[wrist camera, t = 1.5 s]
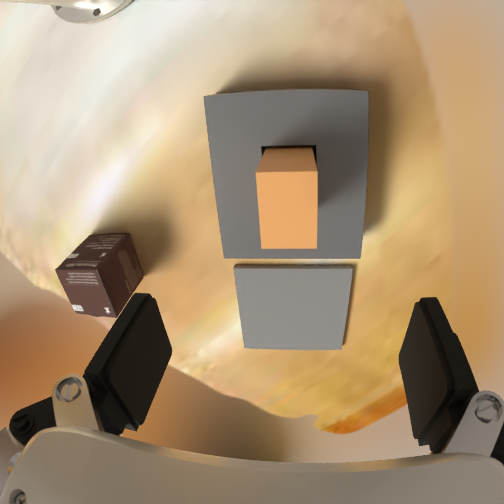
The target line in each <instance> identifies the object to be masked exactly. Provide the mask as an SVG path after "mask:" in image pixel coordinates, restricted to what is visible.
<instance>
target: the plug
mask: <svg viewBox="0 0 504 504" xmlns="http://www.w3.org/2000/svg"><path fill="white" fill-rule="evenodd" d="M256 183H257V196H258V209H259V223H260V236H261V249H317V208H318V171H317V167H316V163H315V158H314V154H313V150H312V145H283V146H267V147H266V149H265V152H264V154H263V156H262V159H261V161H260V163H259V166H258V168H257V171H256Z"/></svg>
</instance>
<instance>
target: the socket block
mask: <svg viewBox="0 0 504 504" xmlns="http://www.w3.org/2000/svg"><path fill="white" fill-rule="evenodd" d="M204 105H205V114H206V123H207V132H208V140H209V149H210V157H211V165H212V173H213V181H214V188H215V196H216V204H217V211H218V219H219V226H220V233H221V240H222V247H223V254H224V258H237V259H360V258H361V249H362V239H363V229H364V217H365V204H366V189H367V170H368V137H369V100H368V91H363V90H352V89H274V90H256V91H242V92H231V93H221V94H213V95H208V96H204ZM283 145H312V150H313V154H314V158H315V163H316V167H317V171H318V208H317V249H261V236H260V223H259V209H258V196H257V183H256V171H257V168H258V166H259V163H260V161H261V159H262V156H263V154H264V152H265V149H266V147H267V146H283Z"/></svg>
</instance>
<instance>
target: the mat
mask: <svg viewBox="0 0 504 504" xmlns="http://www.w3.org/2000/svg"><path fill="white" fill-rule="evenodd" d="M352 272H353V267H352V265H234V275H235V283H236V290H237V298H238V305H239V312H240V320H241V327H242V334H243V341H244V348H251V349H280V350H341V349H342V343H343V337H344V331H345V324H346V318H347V311H348V304H349V296H350V288H351V280H352Z"/></svg>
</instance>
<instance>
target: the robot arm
mask: <svg viewBox="0 0 504 504" xmlns="http://www.w3.org/2000/svg"><path fill="white" fill-rule="evenodd" d="M131 1H133V0H0V2H21V3H35V4H46V5H51V7H52V9H53V10H54V12H55V14H56V15H57V16H59V17H60V18H61V19H63V20H65V21H67V22H71V23H79V24H88V23H94V22H98V21H101V20H104V19H106V18H108V17H110V16H112V15H114V14H116V13H117V12H119V11H120V10H122V9H123V8H124V7H126V6H127V5H128V4H129V3H130V2H131ZM171 355H172V347H171V344H170V341H169V338H168V335H167V333H166V330H165V327H164V324H163V321H162V318H161V315H160V311H159V308H158V305H157V302H156V299H155V298H152V296H151V295H150V294H147V293H135V294H134V295H133V296H132V297H131V299H130V300H129V302H128V303H127V305H126V306H125V308H124V309H123V311H122V312H121V314H120V315H119V317H118V318H117V320H116V322H115V323H114V325H113V326H112V328H111V329H110V331H109V333H108V334H107V336H106V337H105V339H104V340H103V342H102V343H101V345H100V347H99V348H98V350H97V351H96V353H95V355H94V356H93V358H92V360H91V361H90V363H89V365H88V366H87V368H86V370H85V371H84V372H85V373H84V375H83V377H82V376H80V375H77V374H69V375H66V376H64V377H62V378H60V379H59V380H58V381H57V382H56V383H55V385H54V387H53V389H52V396H51V397H49V398H47V399H44V400H42V401H40V402H37V403H35V404H32V405H30V406H28V407H25V408H23V409H21V410H19V411H17V412H16V413H15V414H14V415H13V416H12V418H11V420H10V424H9V429H7V428H6V427H5V428H3V429H2V430H1V431H0V504H504V401H503V400H502V399H501V397H500V396H499V395H497V394H496V393H494V392H491V391H481V392H479V390H478V387H477V384H476V381H475V379H474V376H473V373H472V370H471V368H470V365H469V363H468V360H467V358H466V355H465V353H464V350H463V348H462V346H461V343H460V341H459V339H458V336H457V335H456V334H455V333H454V332H453V331H452V329H451V327H450V324H449V322H448V320H447V318H446V315H445V313H444V311H443V309H442V307H441V305H440V303H439V301H438V299H437V298H436V297H427V298H421V299H420V301H419V302H416V303H415V306H414V309H413V313H412V316H411V319H410V323H409V326H408V329H407V332H406V335H405V338H404V341H403V344H402V347H401V350H400V353H399V365H400V369H401V374H402V379H403V383H404V388H405V393H406V398H407V403H408V408H409V413H410V419H411V425H412V431H413V437H414V438H415V439H418V443H419V446H423V445H429V446H430V450H431V453H430V455H423V456H415V457H407V458H399V459H389V460H377V461H365V462H347V463H286V462H268V461H255V460H244V459H235V458H226V457H219V456H212V455H206V454H199V453H193V452H188V451H182V450H177V449H172V448H167V447H162V446H158V445H154V444H149V443H145V442H141V441H137V440H133V439H129V438H125V437H123V434H122V433H123V431H124V428H126V429H129V430H133V431H137V429H138V427H139V425H142V424H143V423H144V421H145V418H146V416H147V413H148V411H149V408H150V406H151V403H152V401H153V399H154V396H155V394H156V391H157V388H158V386H159V384H160V382H161V379H162V377H163V374H164V372H165V370H166V367H167V365H168V362H169V360H170V358H171Z"/></svg>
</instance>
